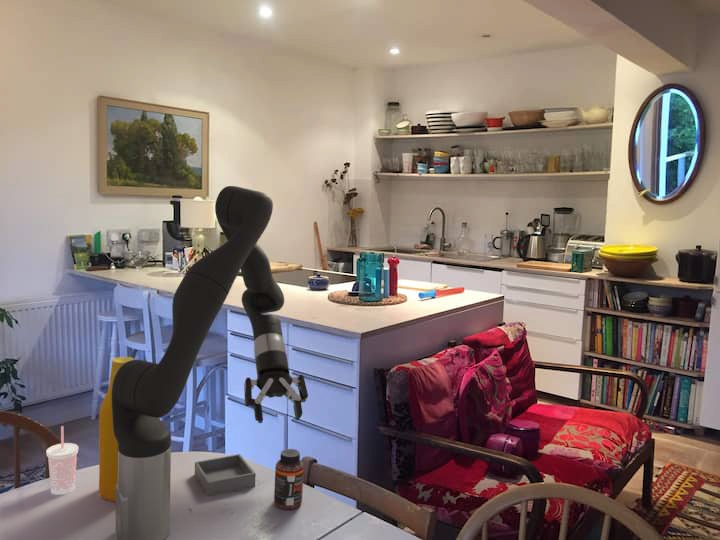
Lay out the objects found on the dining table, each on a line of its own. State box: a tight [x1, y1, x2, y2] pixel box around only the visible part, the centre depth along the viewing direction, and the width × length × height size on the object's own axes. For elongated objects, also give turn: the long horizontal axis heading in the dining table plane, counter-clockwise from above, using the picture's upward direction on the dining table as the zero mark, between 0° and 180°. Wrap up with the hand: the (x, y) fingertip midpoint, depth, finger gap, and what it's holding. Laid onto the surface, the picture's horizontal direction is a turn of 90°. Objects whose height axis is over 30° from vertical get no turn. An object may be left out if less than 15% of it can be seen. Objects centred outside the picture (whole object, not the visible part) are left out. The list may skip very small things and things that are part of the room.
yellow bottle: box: [98, 356, 135, 502], centre depth 125 cm, size 9×9×29 cm
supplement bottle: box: [273, 448, 305, 510], centre depth 126 cm, size 6×6×11 cm
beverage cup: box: [46, 425, 79, 495], centre depth 126 cm, size 6×6×14 cm
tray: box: [194, 453, 257, 497], centre depth 134 cm, size 11×11×3 cm
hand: (279, 420), depth 134 cm, fingers open, 8 cm apart
